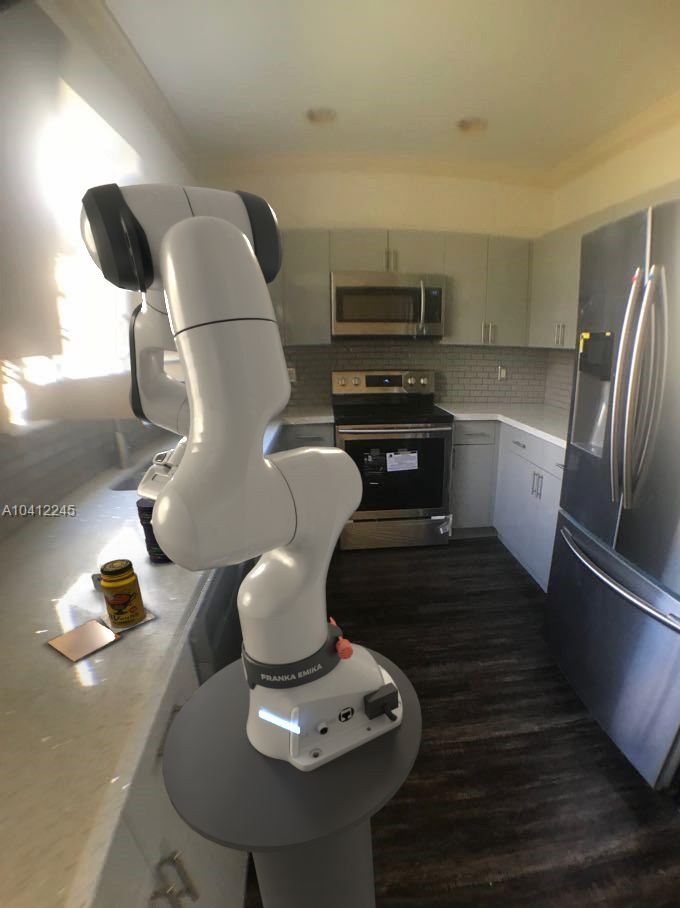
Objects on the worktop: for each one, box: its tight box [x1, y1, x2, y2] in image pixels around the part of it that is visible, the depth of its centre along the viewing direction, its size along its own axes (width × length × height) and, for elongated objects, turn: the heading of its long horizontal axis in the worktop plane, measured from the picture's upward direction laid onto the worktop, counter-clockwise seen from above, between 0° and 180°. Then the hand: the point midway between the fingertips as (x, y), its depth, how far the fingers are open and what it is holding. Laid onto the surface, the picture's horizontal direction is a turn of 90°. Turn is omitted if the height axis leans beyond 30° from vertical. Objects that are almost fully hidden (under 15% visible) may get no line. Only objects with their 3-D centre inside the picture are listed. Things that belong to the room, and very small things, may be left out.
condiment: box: [99, 558, 156, 634], centre depth 88 cm, size 7×8×12 cm
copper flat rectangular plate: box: [47, 619, 122, 663], centre depth 83 cm, size 8×10×1 cm
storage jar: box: [135, 497, 175, 565], centre depth 112 cm, size 10×10×15 cm
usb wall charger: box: [90, 564, 103, 591], centre depth 103 cm, size 4×7×4 cm, turn 11°
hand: (157, 526), depth 91 cm, fingers closed
